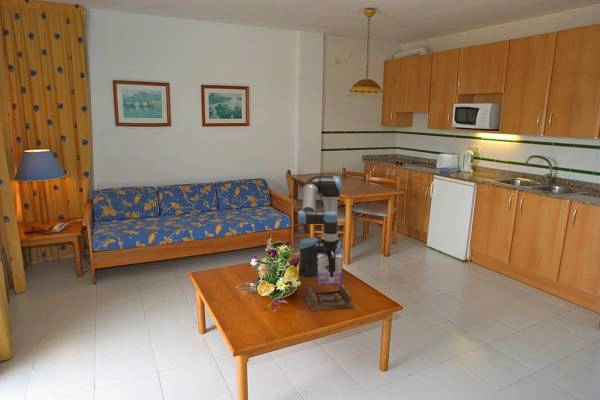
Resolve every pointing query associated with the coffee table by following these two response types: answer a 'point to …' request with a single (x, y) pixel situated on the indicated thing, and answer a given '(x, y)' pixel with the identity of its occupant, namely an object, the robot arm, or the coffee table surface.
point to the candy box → (324, 268)
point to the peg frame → (329, 299)
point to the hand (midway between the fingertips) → (329, 279)
